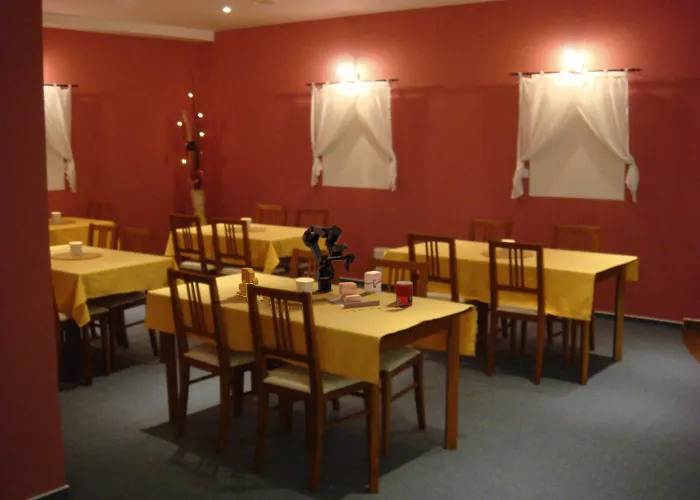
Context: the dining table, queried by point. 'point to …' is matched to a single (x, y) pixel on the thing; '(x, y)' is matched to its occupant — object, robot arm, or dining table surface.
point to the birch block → (348, 292)
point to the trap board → (340, 302)
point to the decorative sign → (247, 280)
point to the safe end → (360, 304)
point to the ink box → (372, 282)
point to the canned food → (404, 292)
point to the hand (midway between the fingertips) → (341, 272)
